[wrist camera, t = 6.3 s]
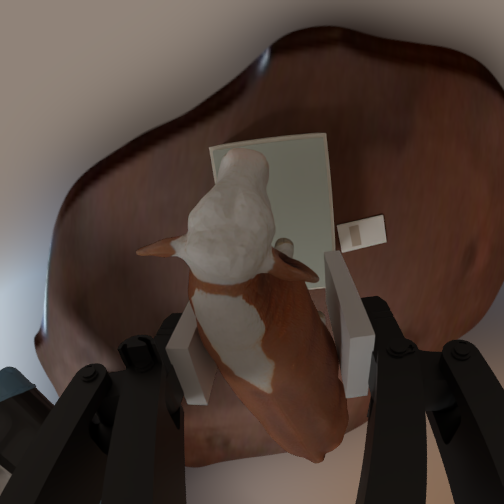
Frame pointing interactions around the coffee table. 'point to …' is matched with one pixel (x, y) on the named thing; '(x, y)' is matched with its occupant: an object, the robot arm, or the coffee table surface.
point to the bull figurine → (260, 311)
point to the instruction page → (361, 233)
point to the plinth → (296, 193)
